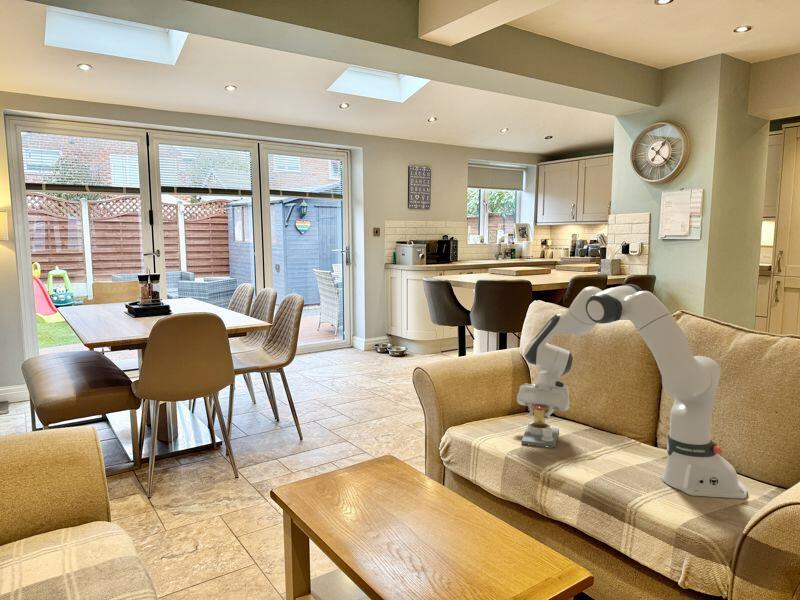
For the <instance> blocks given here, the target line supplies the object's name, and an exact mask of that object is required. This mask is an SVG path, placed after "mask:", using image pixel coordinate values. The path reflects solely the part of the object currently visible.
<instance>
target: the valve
mask: <svg viewBox="0 0 800 600" xmlns="http://www.w3.org/2000/svg"><path fill="white" fill-rule="evenodd" d="M533 410H534V416H533V422H534V427H535V428H545V423H546V418H545V417H544V415H545V412H546V408H545V406H544V405H534V407H533Z"/></svg>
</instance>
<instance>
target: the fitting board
mask: <svg viewBox="0 0 800 600" xmlns="http://www.w3.org/2000/svg"><path fill="white" fill-rule="evenodd" d="M559 432H560V428H557V427H551V425H550V424H549V423H547V422H545V428H535V427H534V421H532V422H529V423H528V425H527V426H526V429H525V430H524V434H523V436H522V439H521V445H522V444H529V445H528V446H531V445H537V446H536V447H539V446H548V447H555V448H556V446H555V445H557V442H558V437H559ZM556 441H557V442H556Z"/></svg>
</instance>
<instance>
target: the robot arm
mask: <svg viewBox="0 0 800 600" xmlns="http://www.w3.org/2000/svg"><path fill="white" fill-rule="evenodd" d="M623 319H624V320H625V319H627V320H629V321H630V322H631V323H632V325H633V326H634V327H635V329H636V331H637V332H638V333H639V336H640V337H641V338H642V340H643V341H644V343H645V345H646V346H647V347H648V349H649V350H650V351H651V354H652V355H653V357H654V358H653V359H654V360H655V362H656V364H657V368H658V369H659V373H660V375H661V385H662V387H663V390H664V391H665V392H666V393H667V394H668V395H669V396H670V397H672V398H674V401H673V404H672V407H671V409H670V412H669V416H670V417H669V434H668V435H667V441H666V452H667V458H666V462H665V463H666V464H665V467H664V471H663V473H662V476H661V479H662V481H663V482H664V483H665V484H667V485H668V486H670V487H672V488H674V489H677V490H679V491H682V492H683V493H685V494H687V495H689V496H692V497H693V496H694V497H709V498H710V497H711V498H725V499H726V498H727V499H743V500H744V499H745V498H746V497H748V490H747V488H746V485H745V484H744V483H743V482H742V481H740V480H739V477H738V473H737V471H736V469H735V467H734V466H733V465H732V464H731V463H730V462H728V461H727V460H726V459H725V458H724V457H722V456H721V453H722V452H723V451H722V448H721V447H720V446H719V445H718V444H717V442H715V441H714V440H713V439H711V431H712V430H711V429H712V416H713V410H714V407H715V402H716V397H717V392H718V385H719V381H720V378H721V376H722V375H721V371H722V370H721V367H720V366H719V364H718V363H717V361H716V360H714V359H712V358H711V357H708V356H703V355H702V356H701V355H693V354H692V351H691V349H690V346H689V343H688V341H687V335H686V333H685V332H684V330H683V329H682V327H681V326H680V325H679V323H678V322H677V320H676V319H675V318H674V316H673V315H672V313H671V312H670V310H668V309H667V307H666V306H665V304H664V303H663V302H662V301H660V299H659V298H658V297H657V296H656V295H655V294H654V293H653V292H651V291H648V290H643V289H642V288H641V287H640V286H638V285H637V284H631V283H627V284H621V285H619V286H615V287H610V288H606V289H604V290H602V289H600V288H599V287H597V286H587V287H583V289H582V290H581V291H580V292H579V293H578V294H577V296H575V298H574V299H573V301H572V303H571V304H570V306H569V307H568V308H567V309H566V310H565V311H563V312H561V313H557V314H554V315H553V316H552V317H551V318H550V319H549V320H548V321H547V323H545V325H544V326H543V327H542V328H541V330H540V331H539V332H538V333H537V334H536V336H535V337H533V338H532V339H531V340H530V341H529V342H528V343H527V344H526V347H525V349H524V354H523V356H524V358H525V360H526V361H527V363H529V364H531V365H534V366H538V369H539V370H538V371H539V372H538V373H537V376H536V380H535V382H534V384H533V383H526V382H525V383H523V384H521V385H520V386H519V389H518V390H519V391H518V393H517V395H516V401H517V403H518V404H519V405H521V406H526V407H528V409H529V416H530V417H534V405H544V406H545V409H547V410H548V411H547V412H546V411H545V415H544V417H545V419H550V416H551V415H552V414H553V413H554V412H555V410H556V411H563V412H567V411H568V410H569V409H570V403H571V401H570V396H569V394H570V390H569V387H568V385H567V383H565V382H562V381H560V376H564V375H566V374H568V373H569V372H570V371H571V369H572V364H573V361H574V360H573V359H574V357H573V354H572V353H571V352H570V351H569V350H567V349H564V348H562V347H560V346H557V345H553V344H550V343H548V342H549V340H550V339H552V337H553V336H555V335H574V336H583V335H586V334H589V333H590V332H591V331H592V330H593V329H594V328H595V327H596V325H597V324H600V325H601V324H605V325H606V324H611V323H613V322H614V323H615V322H619V321H621V320H623Z"/></svg>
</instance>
